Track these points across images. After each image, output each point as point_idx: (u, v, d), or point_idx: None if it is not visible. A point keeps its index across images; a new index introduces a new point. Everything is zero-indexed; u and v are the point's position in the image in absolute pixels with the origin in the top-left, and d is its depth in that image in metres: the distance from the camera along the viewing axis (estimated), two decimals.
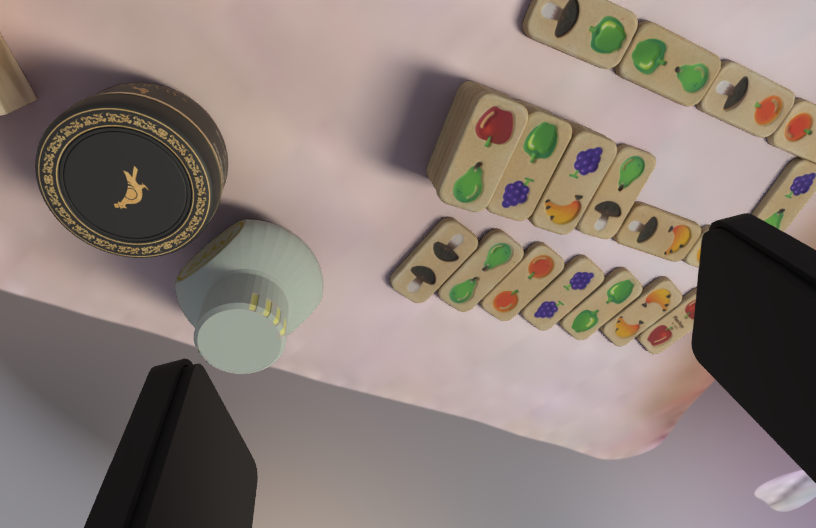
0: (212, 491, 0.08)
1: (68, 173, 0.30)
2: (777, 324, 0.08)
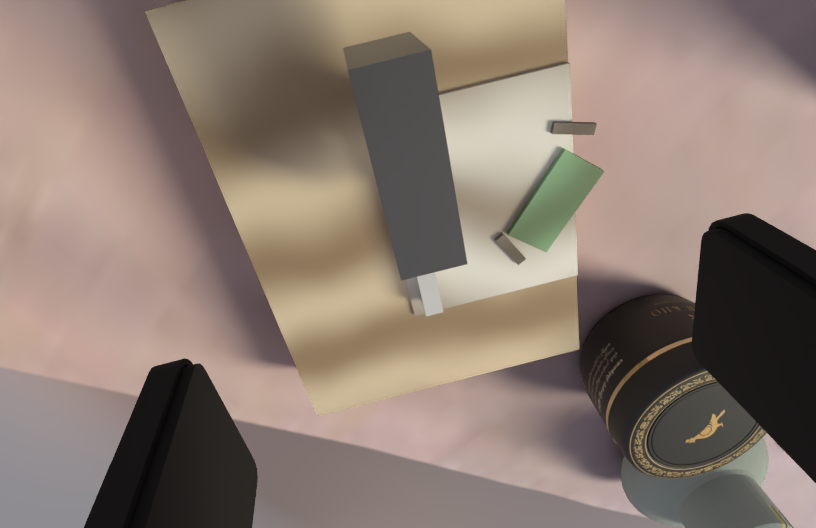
0: (212, 491, 0.08)
1: (664, 419, 0.30)
2: (777, 324, 0.08)
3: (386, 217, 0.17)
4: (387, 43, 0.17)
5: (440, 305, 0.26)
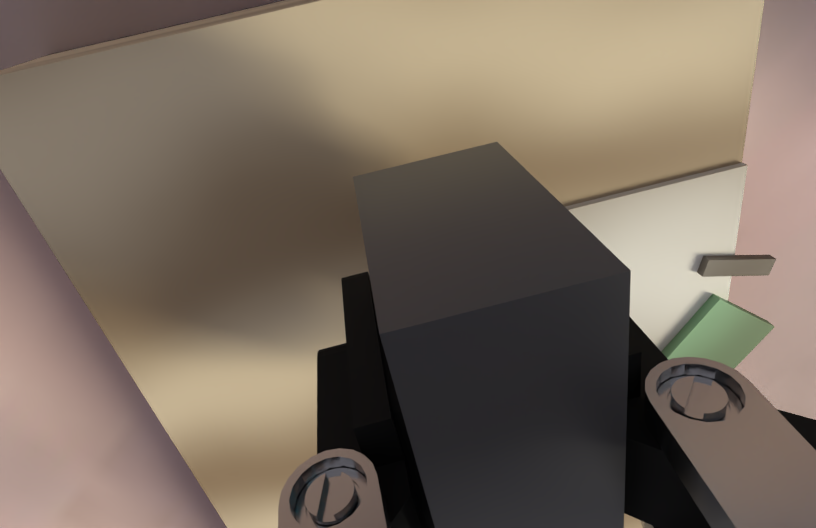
0: None
1: None
2: None
3: None
4: (460, 185, 0.07)
5: None
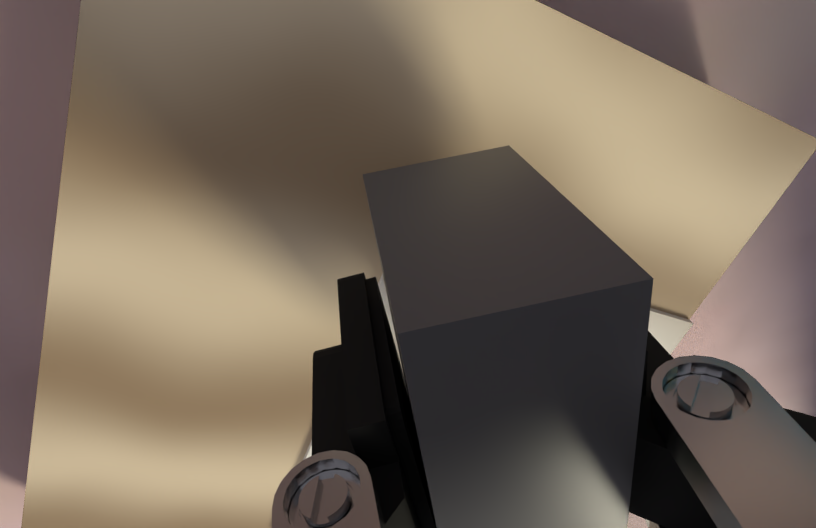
0: (401, 382, 0.09)
1: None
2: None
3: None
4: (473, 187, 0.07)
5: None
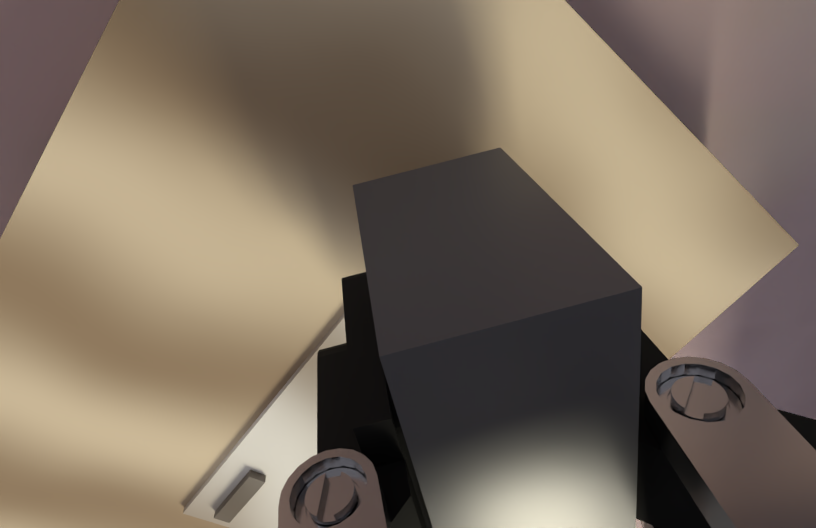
0: None
1: None
2: None
3: None
4: (462, 194, 0.07)
5: None
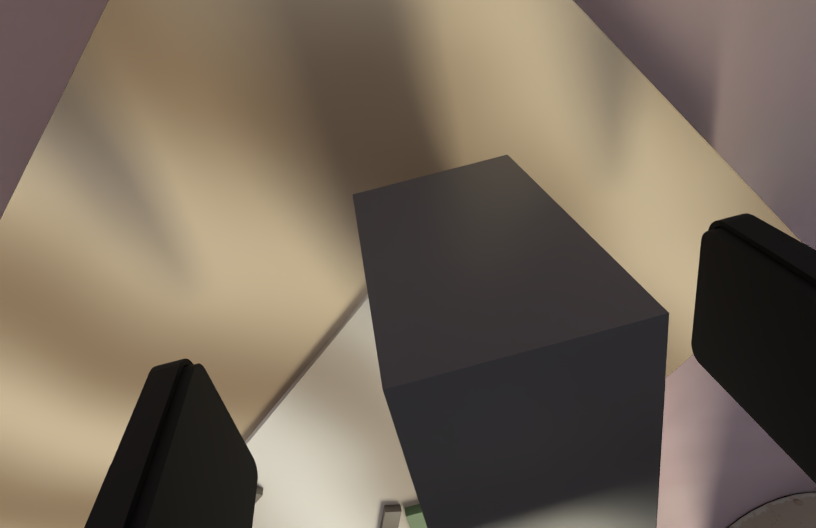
0: (212, 491, 0.08)
1: None
2: (776, 324, 0.08)
3: None
4: (469, 206, 0.07)
5: None
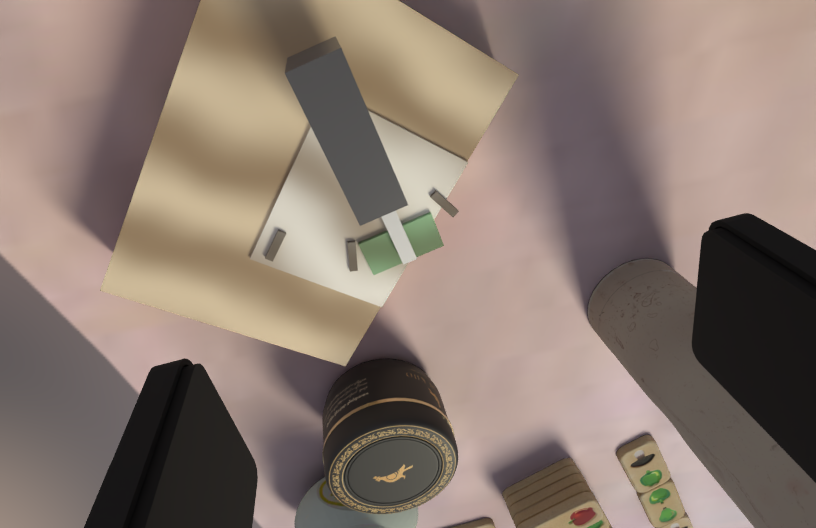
0: (212, 491, 0.08)
1: (371, 449, 0.36)
2: (777, 324, 0.08)
3: (337, 178, 0.23)
4: (317, 48, 0.23)
5: (413, 253, 0.32)
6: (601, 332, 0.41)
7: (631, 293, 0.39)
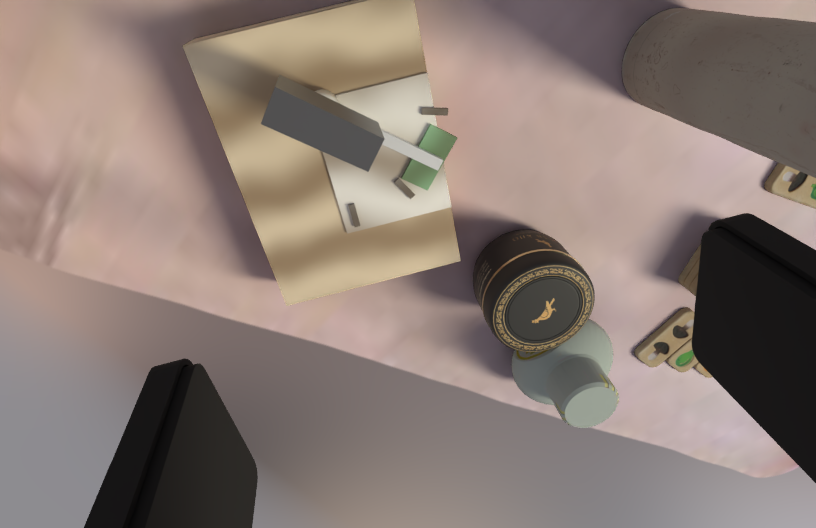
0: (212, 491, 0.08)
1: (513, 303, 0.46)
2: (777, 324, 0.08)
3: (332, 155, 0.33)
4: None
5: (438, 159, 0.40)
6: (648, 106, 0.44)
7: (644, 59, 0.41)
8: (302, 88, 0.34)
